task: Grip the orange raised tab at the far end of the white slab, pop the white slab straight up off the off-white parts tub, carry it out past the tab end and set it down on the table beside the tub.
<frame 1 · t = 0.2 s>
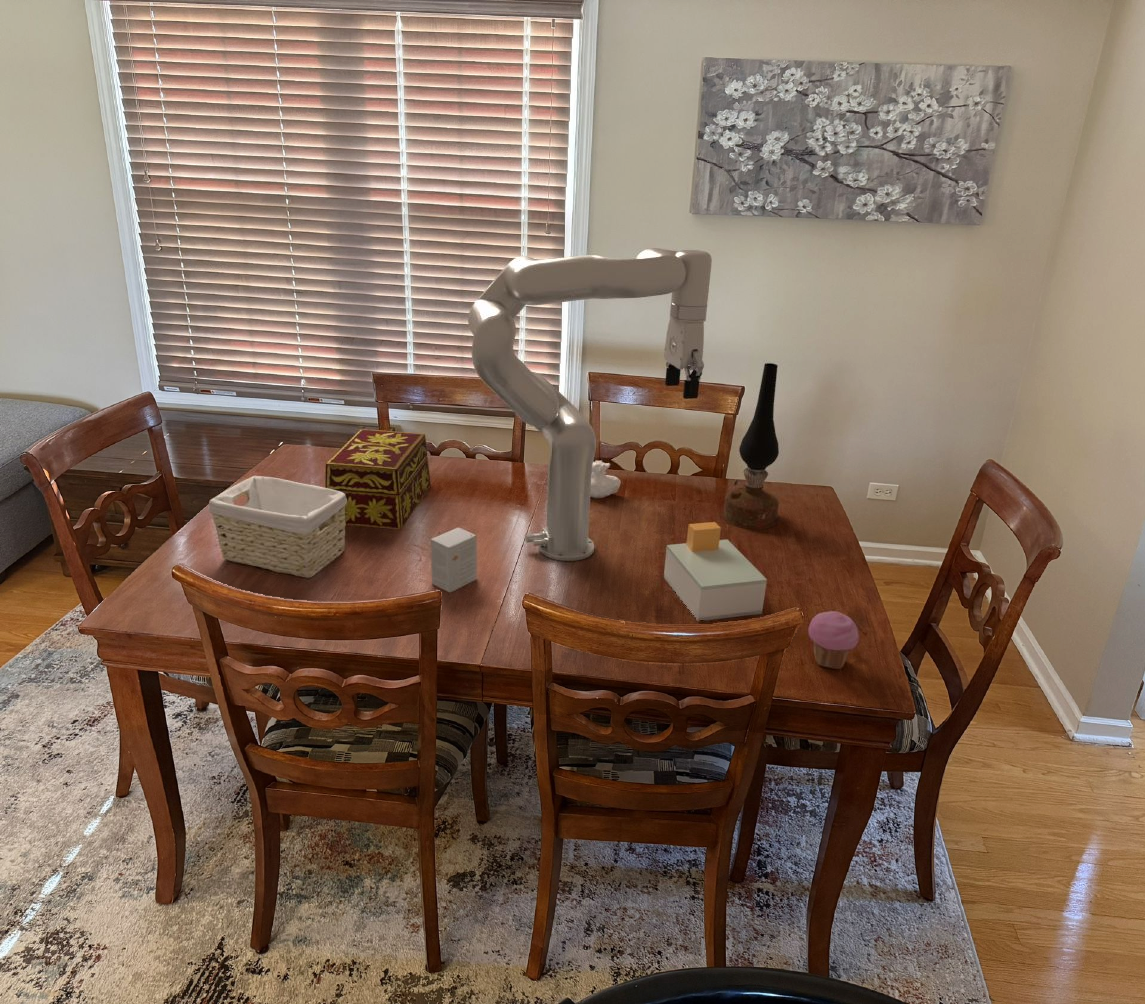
hand: (680, 391, 182), 36 cm above the table, tool pointing down, fingers open, 9 cm apart
tub: (711, 594, 174), on the table
small box: (454, 582, 175), on the table
oil lamp: (749, 518, 211), on the table
storage basket: (285, 558, 181), on the table
cupcake: (827, 663, 154), on the table
duck figurine: (596, 496, 219), on the table
decorative box: (381, 504, 209), on the table
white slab: (714, 565, 171), point 7 cm above the table, touching tub
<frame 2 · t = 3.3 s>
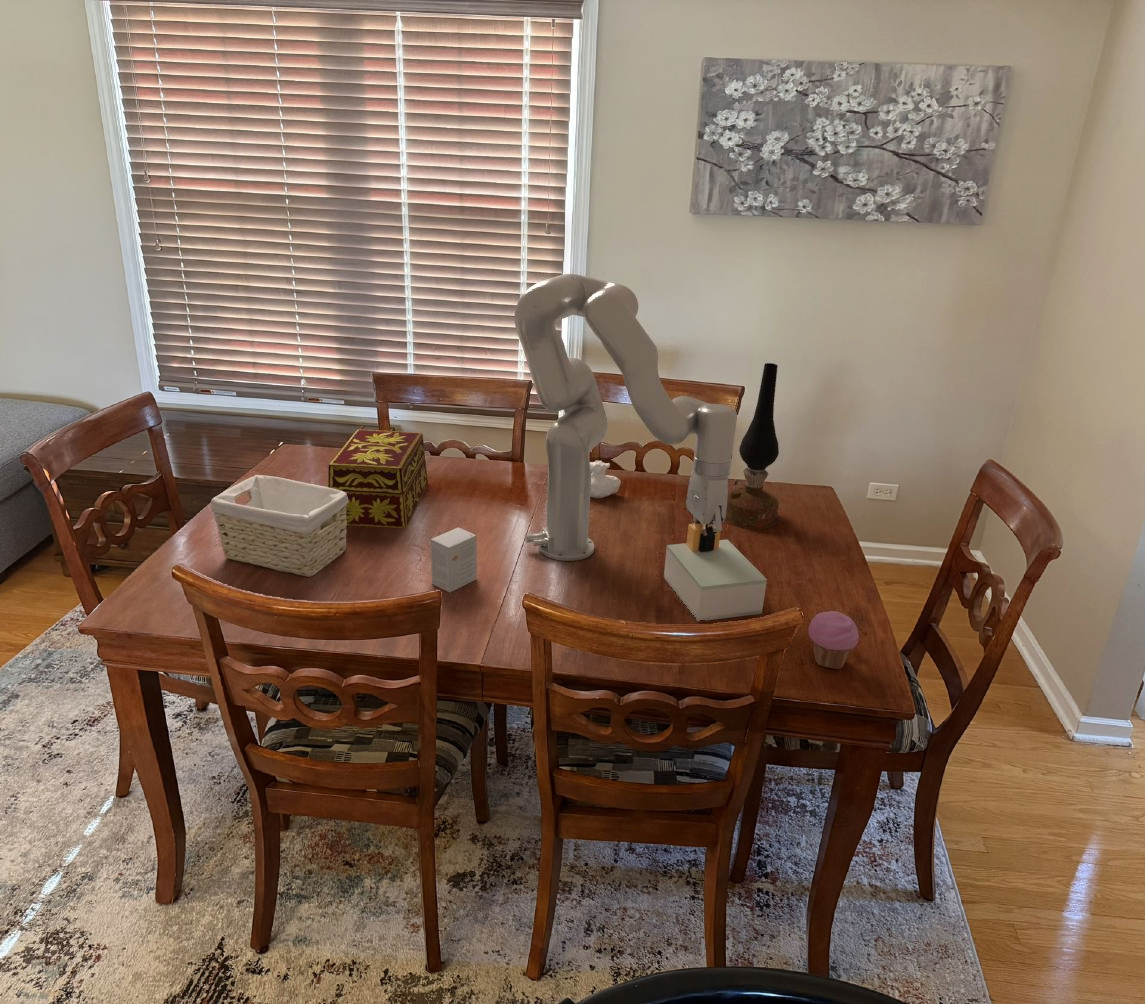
hand: (702, 546, 177), 8 cm above the table, tool pointing down, fingers closed on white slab, 3 cm apart
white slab: (714, 565, 171), point 7 cm above the table, touching gripper
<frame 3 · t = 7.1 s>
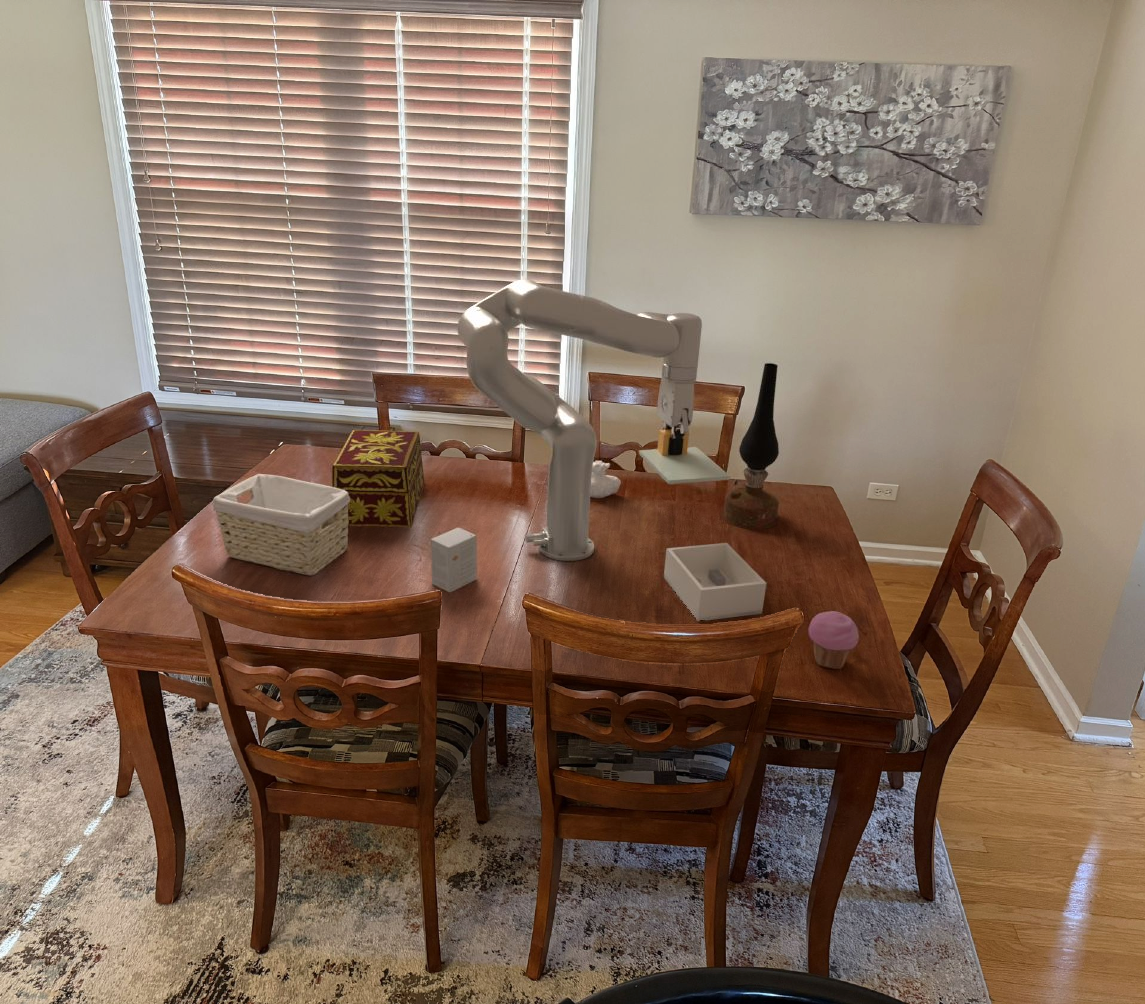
hand: (671, 450, 189), 22 cm above the table, tool pointing down, fingers closed on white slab, 3 cm apart
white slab: (682, 466, 184), point 21 cm above the table, touching gripper
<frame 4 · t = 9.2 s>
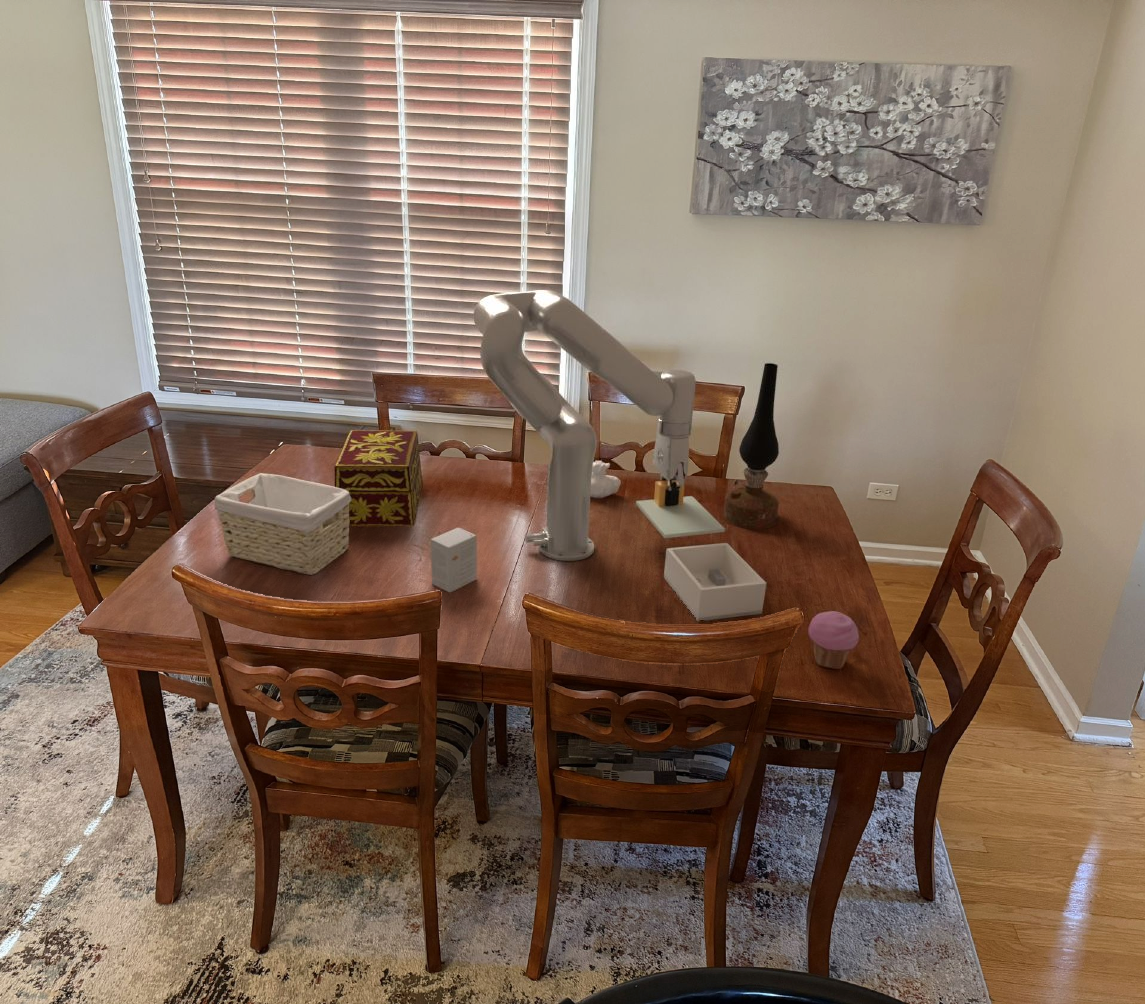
hand: (668, 501, 194), 9 cm above the table, tool pointing down, fingers closed on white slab, 3 cm apart
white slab: (678, 517, 189), point 8 cm above the table, touching gripper
when the fingers open (4 cm above the table, at t = 11.1 s): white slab drops 2 cm, point 1 cm above the table.
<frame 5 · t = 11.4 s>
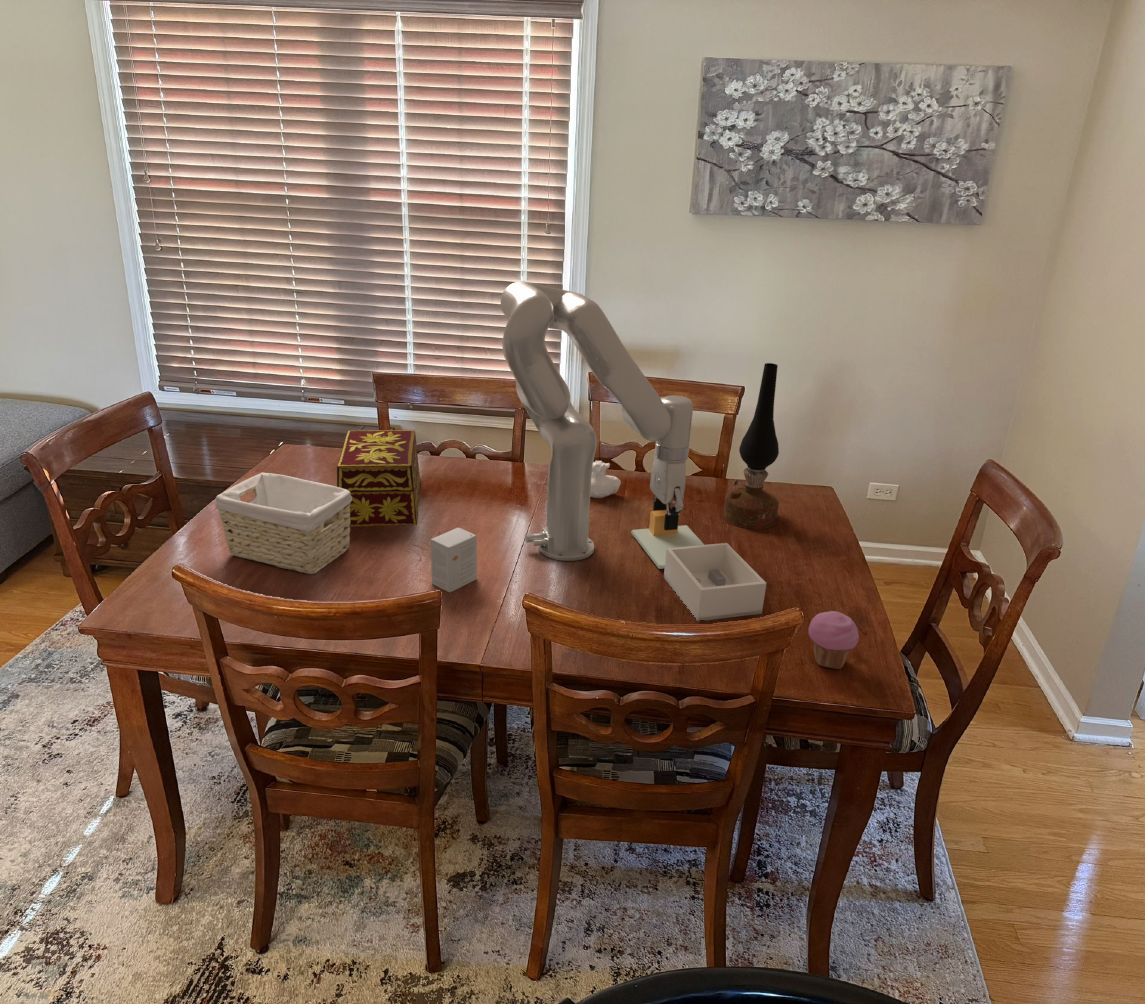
hand: (664, 522, 196), 4 cm above the table, tool pointing down, fingers open, 6 cm apart
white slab: (673, 547, 192), point 1 cm above the table
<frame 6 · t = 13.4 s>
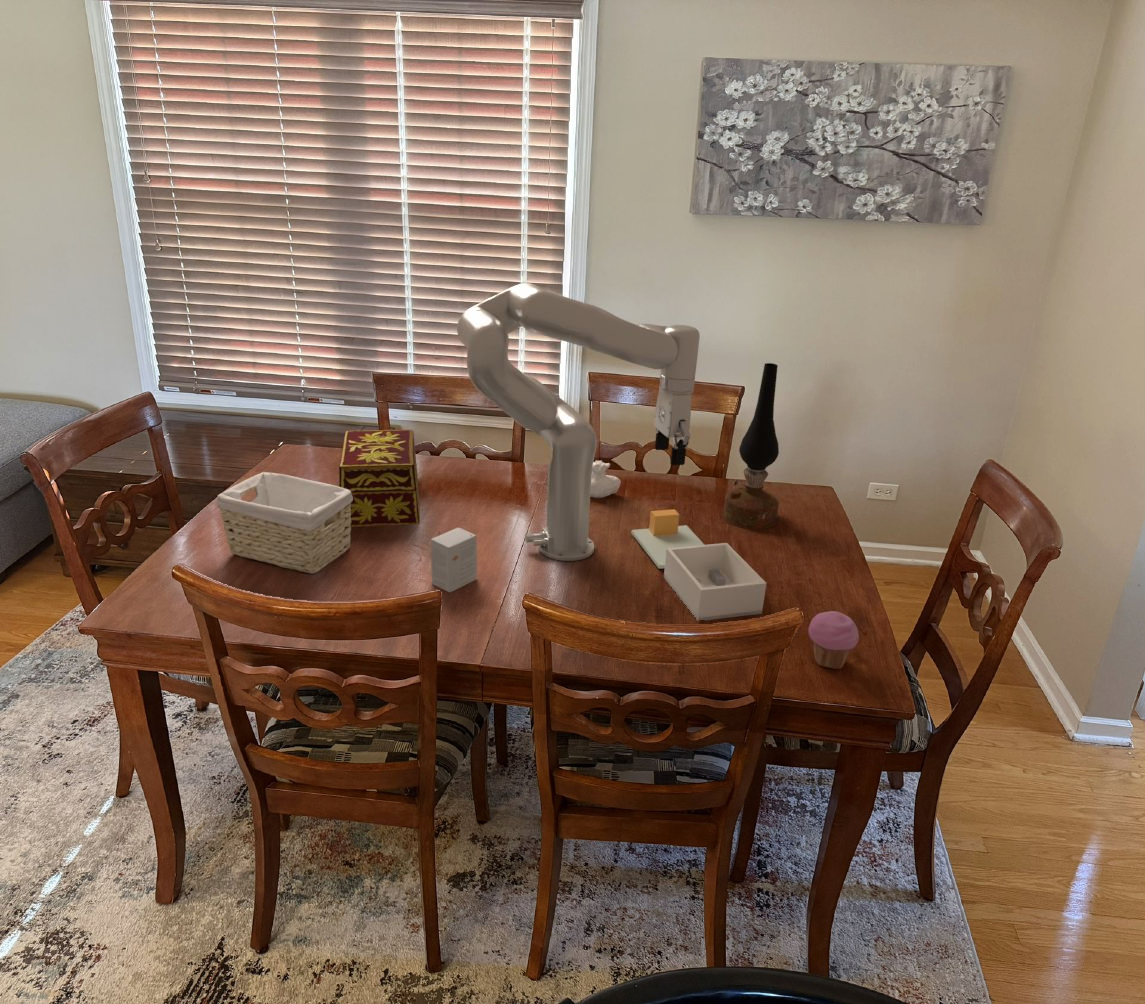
hand: (669, 456, 190), 20 cm above the table, tool pointing down, fingers open, 9 cm apart
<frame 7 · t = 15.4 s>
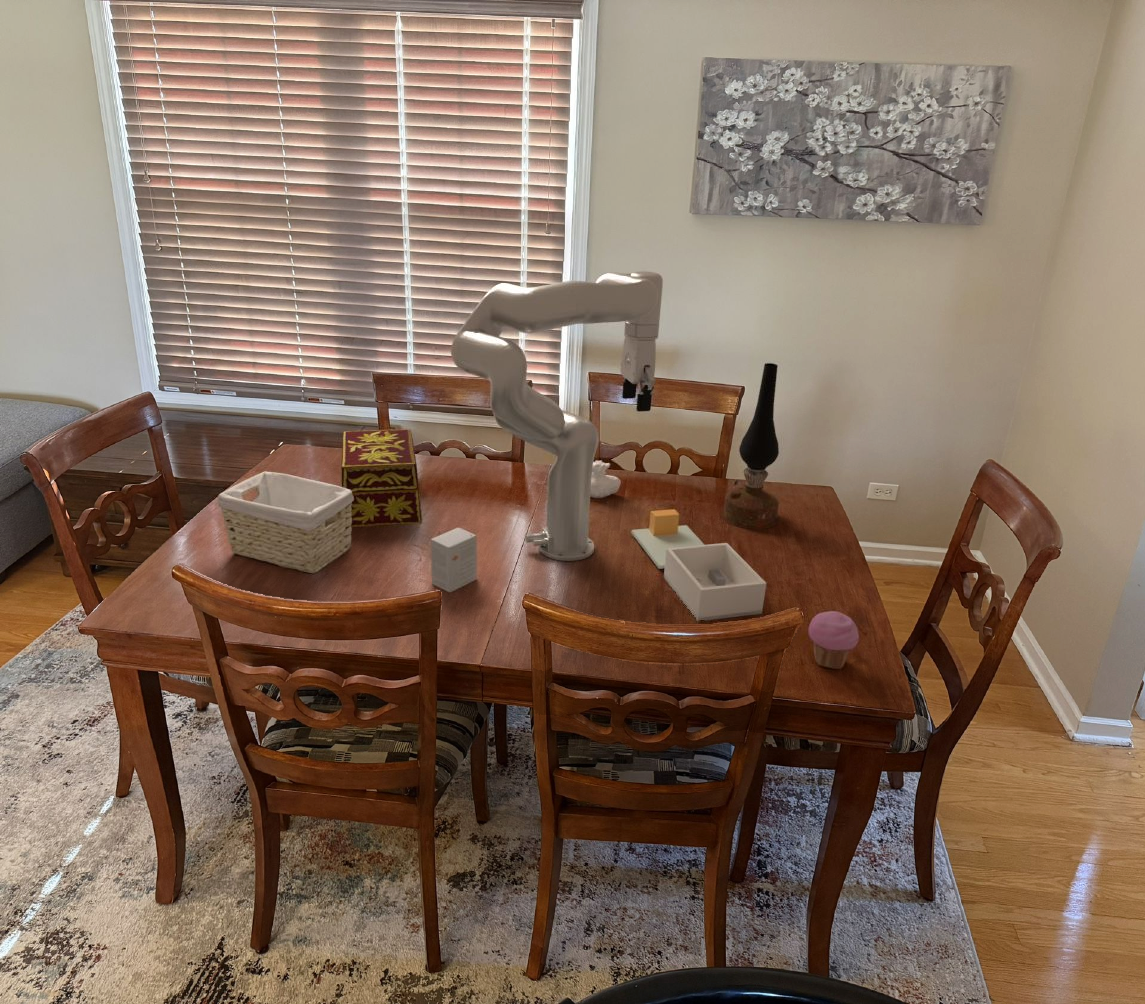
hand: (635, 404, 192), 30 cm above the table, tool pointing down, fingers open, 9 cm apart
at the end: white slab inside the target area (1.7 cm from its centre), point 0.6 cm above the table; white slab touching table; the gripper is holding nothing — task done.
